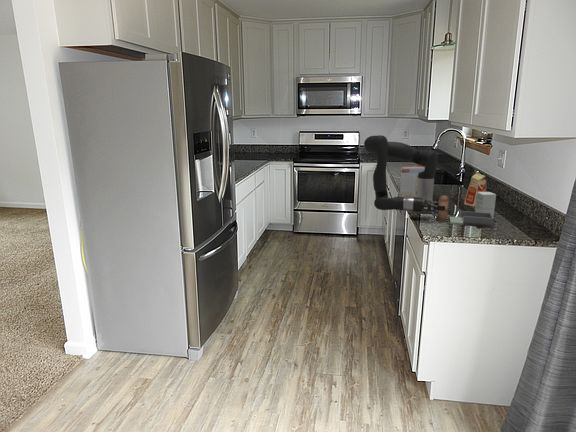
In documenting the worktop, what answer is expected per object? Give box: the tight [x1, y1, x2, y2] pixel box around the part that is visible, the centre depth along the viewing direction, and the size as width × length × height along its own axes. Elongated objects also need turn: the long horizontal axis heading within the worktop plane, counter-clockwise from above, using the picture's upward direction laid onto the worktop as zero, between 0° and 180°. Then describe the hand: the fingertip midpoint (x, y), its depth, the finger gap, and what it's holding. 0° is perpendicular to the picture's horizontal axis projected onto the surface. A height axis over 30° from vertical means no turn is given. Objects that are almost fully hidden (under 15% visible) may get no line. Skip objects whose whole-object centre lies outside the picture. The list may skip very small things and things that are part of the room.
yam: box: [436, 194, 450, 223], centre depth 215 cm, size 5×5×14 cm
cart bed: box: [449, 210, 496, 228], centre depth 212 cm, size 12×20×4 cm, turn 71°
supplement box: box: [474, 191, 497, 216], centre depth 226 cm, size 7×7×13 cm
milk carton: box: [463, 171, 487, 207], centre depth 250 cm, size 9×9×20 cm
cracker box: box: [398, 166, 425, 198], centre depth 266 cm, size 14×6×21 cm, turn 84°
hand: (445, 206), depth 214 cm, fingers open, 8 cm apart
